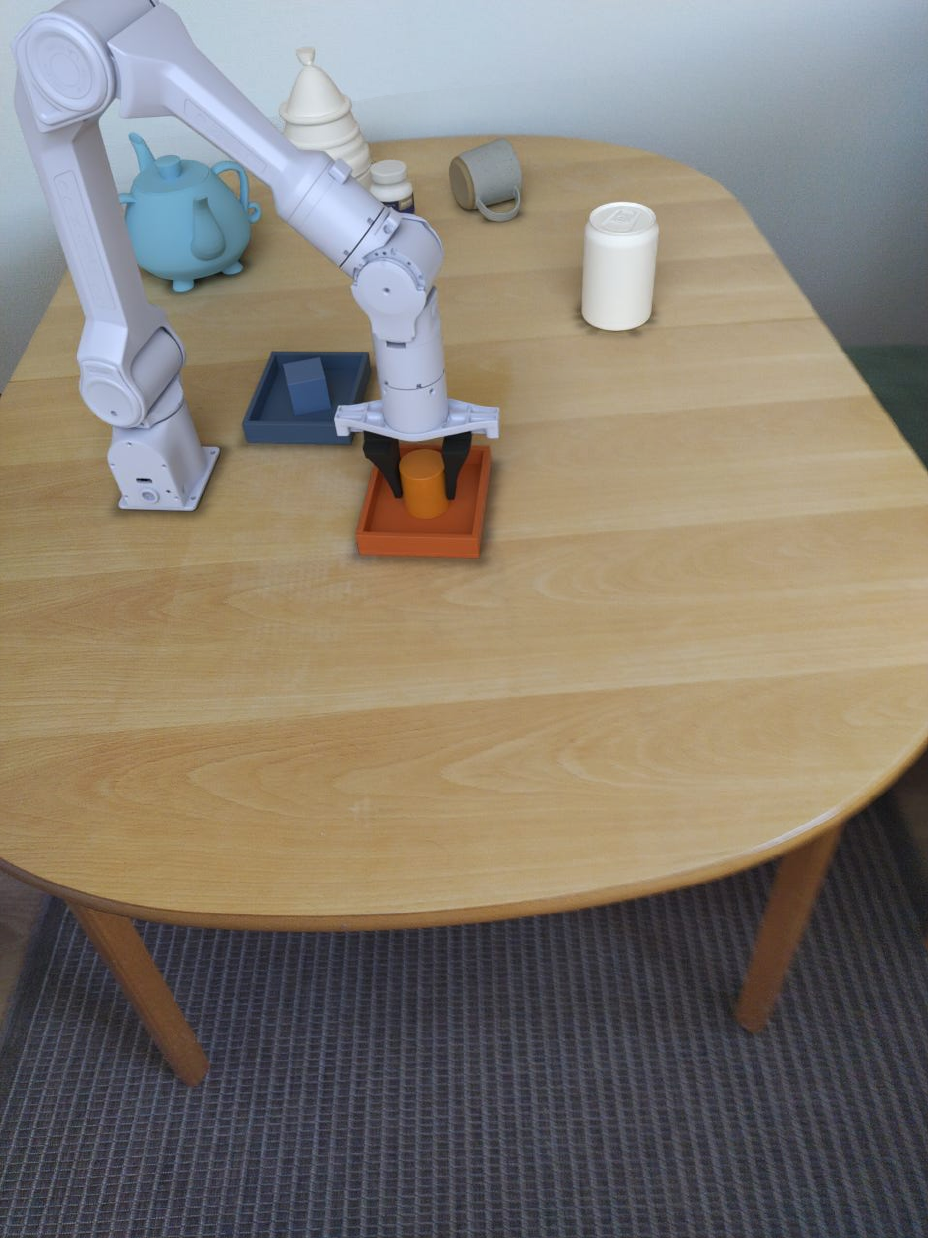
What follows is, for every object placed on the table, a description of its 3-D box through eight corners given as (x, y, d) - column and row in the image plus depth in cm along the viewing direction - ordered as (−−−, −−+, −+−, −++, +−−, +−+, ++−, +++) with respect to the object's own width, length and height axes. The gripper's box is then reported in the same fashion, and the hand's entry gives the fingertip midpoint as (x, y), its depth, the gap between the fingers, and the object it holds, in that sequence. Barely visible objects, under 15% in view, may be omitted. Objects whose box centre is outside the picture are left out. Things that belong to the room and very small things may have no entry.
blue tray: (350, 444, 99) (347, 425, 97) (247, 442, 100) (241, 423, 98) (371, 370, 107) (368, 351, 105) (276, 369, 108) (271, 351, 107)
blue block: (331, 408, 102) (325, 377, 99) (295, 416, 102) (287, 384, 99) (326, 387, 105) (319, 356, 102) (290, 394, 104) (283, 363, 101)
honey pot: (280, 181, 141) (252, 47, 127) (363, 165, 142) (344, 31, 129) (296, 219, 132) (267, 80, 119) (384, 201, 134) (366, 62, 121)
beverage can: (570, 326, 110) (572, 227, 101) (597, 292, 115) (601, 194, 106) (635, 341, 108) (644, 240, 99) (660, 305, 112) (671, 206, 103)
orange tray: (479, 558, 87) (477, 539, 85) (359, 554, 88) (355, 535, 86) (491, 465, 95) (490, 445, 93) (382, 462, 96) (378, 443, 94)
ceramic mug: (447, 200, 133) (443, 144, 127) (497, 184, 135) (496, 128, 130) (483, 231, 127) (481, 174, 121) (536, 214, 129) (536, 157, 123)
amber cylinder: (447, 520, 89) (443, 479, 86) (401, 519, 90) (395, 478, 86) (452, 489, 92) (448, 448, 88) (408, 488, 93) (402, 448, 89)
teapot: (232, 307, 118) (202, 195, 107) (99, 290, 123) (57, 182, 112) (287, 243, 128) (264, 136, 117) (162, 230, 133) (129, 125, 122)
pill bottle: (412, 253, 124) (404, 177, 116) (370, 251, 125) (360, 176, 117) (422, 232, 128) (415, 157, 120) (381, 230, 129) (372, 155, 121)
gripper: (500, 343, 81) (505, 466, 92) (336, 342, 83) (359, 463, 93) (493, 392, 77) (499, 515, 87) (320, 391, 78) (345, 511, 89)
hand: (426, 492), depth 90 cm, fingers closed on amber cylinder, 4 cm apart
